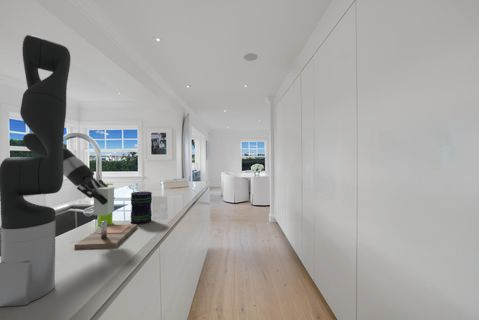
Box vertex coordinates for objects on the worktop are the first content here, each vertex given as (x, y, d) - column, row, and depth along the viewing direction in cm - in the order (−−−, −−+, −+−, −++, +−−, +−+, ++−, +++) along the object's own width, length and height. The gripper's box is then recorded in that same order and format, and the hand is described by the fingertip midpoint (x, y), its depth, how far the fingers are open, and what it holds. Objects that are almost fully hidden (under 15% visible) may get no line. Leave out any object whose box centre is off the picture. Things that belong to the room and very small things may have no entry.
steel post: (105, 238, 80) (105, 222, 80) (99, 238, 80) (100, 222, 80) (107, 236, 82) (108, 220, 82) (102, 236, 82) (102, 220, 82)
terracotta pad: (121, 233, 86) (121, 232, 86) (97, 233, 85) (97, 233, 85) (129, 226, 95) (129, 225, 95) (108, 226, 94) (108, 226, 94)
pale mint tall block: (107, 214, 79) (108, 188, 79) (93, 215, 78) (93, 188, 78) (113, 211, 84) (114, 187, 84) (100, 211, 83) (100, 187, 83)
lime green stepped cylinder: (116, 221, 106) (116, 183, 106) (106, 226, 99) (106, 184, 99) (105, 221, 106) (106, 182, 106) (95, 225, 99) (95, 184, 99)
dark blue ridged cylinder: (141, 218, 113) (141, 191, 113) (155, 220, 110) (156, 192, 110) (125, 223, 104) (126, 193, 103) (141, 225, 100) (141, 195, 100)
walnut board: (115, 247, 76) (116, 243, 76) (74, 249, 74) (74, 244, 74) (137, 227, 98) (137, 224, 98) (105, 228, 96) (105, 225, 96)
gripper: (71, 164, 73) (107, 198, 74) (94, 163, 87) (124, 192, 89) (54, 179, 72) (91, 213, 74) (80, 176, 86) (110, 204, 88)
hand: (109, 201), depth 81 cm, fingers closed on pale mint tall block, 5 cm apart
